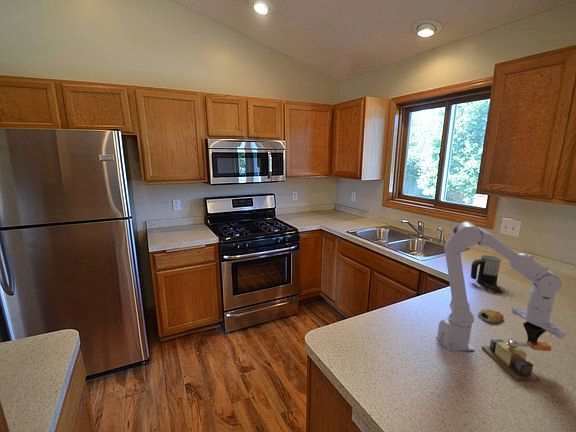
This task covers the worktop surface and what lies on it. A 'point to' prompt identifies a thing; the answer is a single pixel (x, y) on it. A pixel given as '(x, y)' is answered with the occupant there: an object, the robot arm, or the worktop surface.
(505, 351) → the valve
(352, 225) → the worktop surface
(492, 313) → the pastry
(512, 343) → the lever
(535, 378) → the plank
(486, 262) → the milk frother
